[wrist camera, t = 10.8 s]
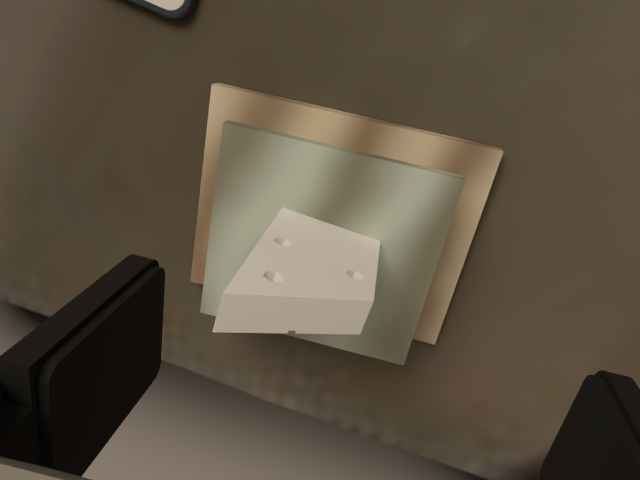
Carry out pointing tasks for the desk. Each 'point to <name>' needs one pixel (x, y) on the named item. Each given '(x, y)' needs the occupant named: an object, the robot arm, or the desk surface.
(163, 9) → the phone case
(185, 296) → the desk surface
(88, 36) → the desk surface
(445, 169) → the stand
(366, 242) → the white wedge bracket
